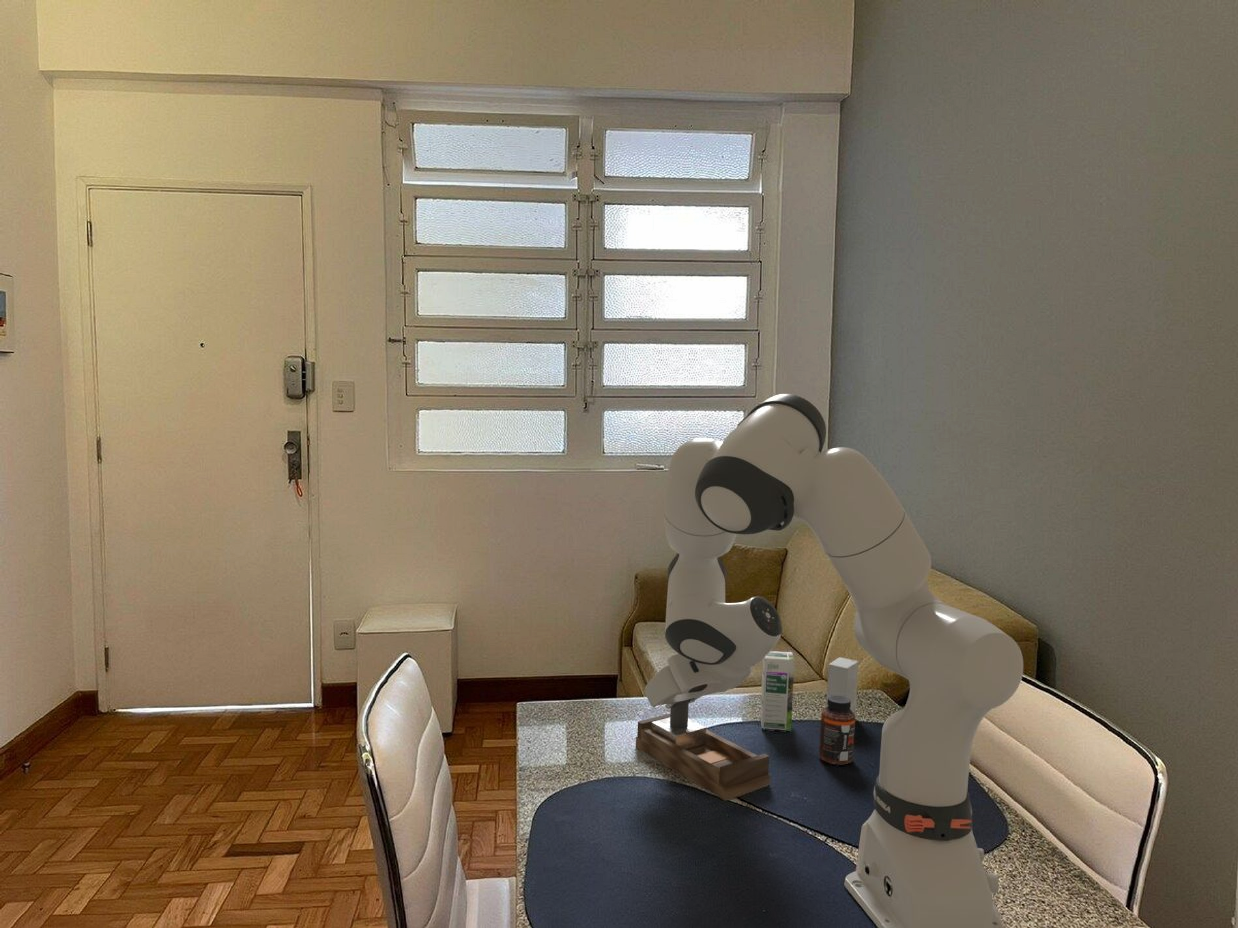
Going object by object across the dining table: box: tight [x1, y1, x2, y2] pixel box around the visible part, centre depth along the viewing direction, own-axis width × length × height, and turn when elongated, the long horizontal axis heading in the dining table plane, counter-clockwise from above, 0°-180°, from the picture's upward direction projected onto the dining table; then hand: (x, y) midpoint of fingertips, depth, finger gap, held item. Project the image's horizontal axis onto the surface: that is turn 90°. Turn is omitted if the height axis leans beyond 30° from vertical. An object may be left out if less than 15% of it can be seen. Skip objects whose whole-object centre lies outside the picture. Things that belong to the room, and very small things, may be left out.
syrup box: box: [759, 650, 795, 731], centre depth 169 cm, size 6×6×14 cm
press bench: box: [635, 713, 771, 801], centre depth 150 cm, size 24×10×5 cm, turn 36°
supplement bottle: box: [818, 695, 856, 765], centre depth 154 cm, size 6×6×11 cm
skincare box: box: [825, 656, 859, 717], centre depth 173 cm, size 6×4×12 cm
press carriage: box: [651, 699, 707, 749], centre depth 154 cm, size 7×7×12 cm
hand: (677, 701), depth 155 cm, fingers closed on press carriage, 3 cm apart
